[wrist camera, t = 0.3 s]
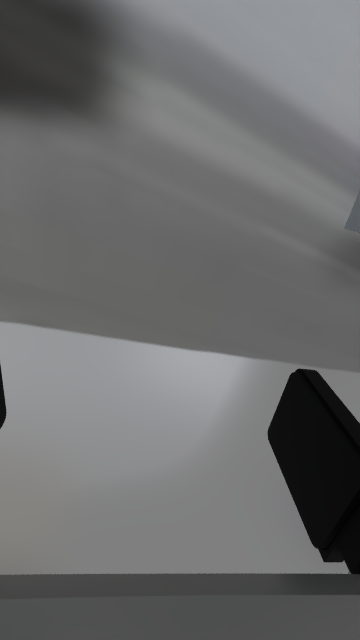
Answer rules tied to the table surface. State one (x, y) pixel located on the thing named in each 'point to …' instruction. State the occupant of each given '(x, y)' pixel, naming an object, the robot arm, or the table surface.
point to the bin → (354, 217)
